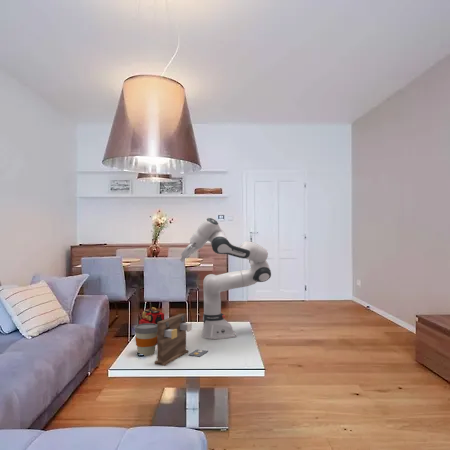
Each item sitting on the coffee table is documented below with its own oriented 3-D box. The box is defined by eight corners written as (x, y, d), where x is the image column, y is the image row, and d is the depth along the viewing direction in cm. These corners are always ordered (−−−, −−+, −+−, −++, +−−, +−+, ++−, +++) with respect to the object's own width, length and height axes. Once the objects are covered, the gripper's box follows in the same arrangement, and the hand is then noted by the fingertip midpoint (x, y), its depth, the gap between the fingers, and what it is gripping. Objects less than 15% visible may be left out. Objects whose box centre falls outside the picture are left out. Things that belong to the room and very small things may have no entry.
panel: (188, 352, 200) (188, 314, 201) (164, 365, 179) (164, 323, 180) (179, 351, 203) (179, 313, 203) (154, 364, 182) (154, 321, 182)
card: (208, 351, 201) (208, 350, 201) (199, 357, 192) (199, 355, 192) (196, 350, 204) (196, 348, 204) (188, 355, 195) (188, 353, 195)
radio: (138, 340, 224) (138, 308, 224) (152, 337, 230) (152, 306, 231) (150, 346, 212) (150, 311, 212) (165, 343, 218) (165, 309, 219)
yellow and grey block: (177, 336, 184) (177, 329, 184) (172, 338, 180) (172, 330, 180) (164, 335, 187) (164, 327, 187) (160, 337, 183) (160, 329, 183)
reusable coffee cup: (143, 348, 207) (143, 322, 207) (162, 351, 202) (162, 324, 203) (129, 355, 195) (130, 327, 196) (149, 358, 191) (149, 329, 191)
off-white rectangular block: (191, 330, 197) (191, 322, 198) (188, 331, 194) (188, 324, 194) (180, 328, 201) (180, 321, 201) (176, 330, 197) (176, 322, 197)
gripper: (195, 248, 202) (182, 266, 206) (206, 241, 222) (193, 258, 225) (187, 241, 203) (173, 259, 206) (198, 235, 222) (186, 251, 226)
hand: (184, 258), depth 216 cm, fingers open, 8 cm apart
